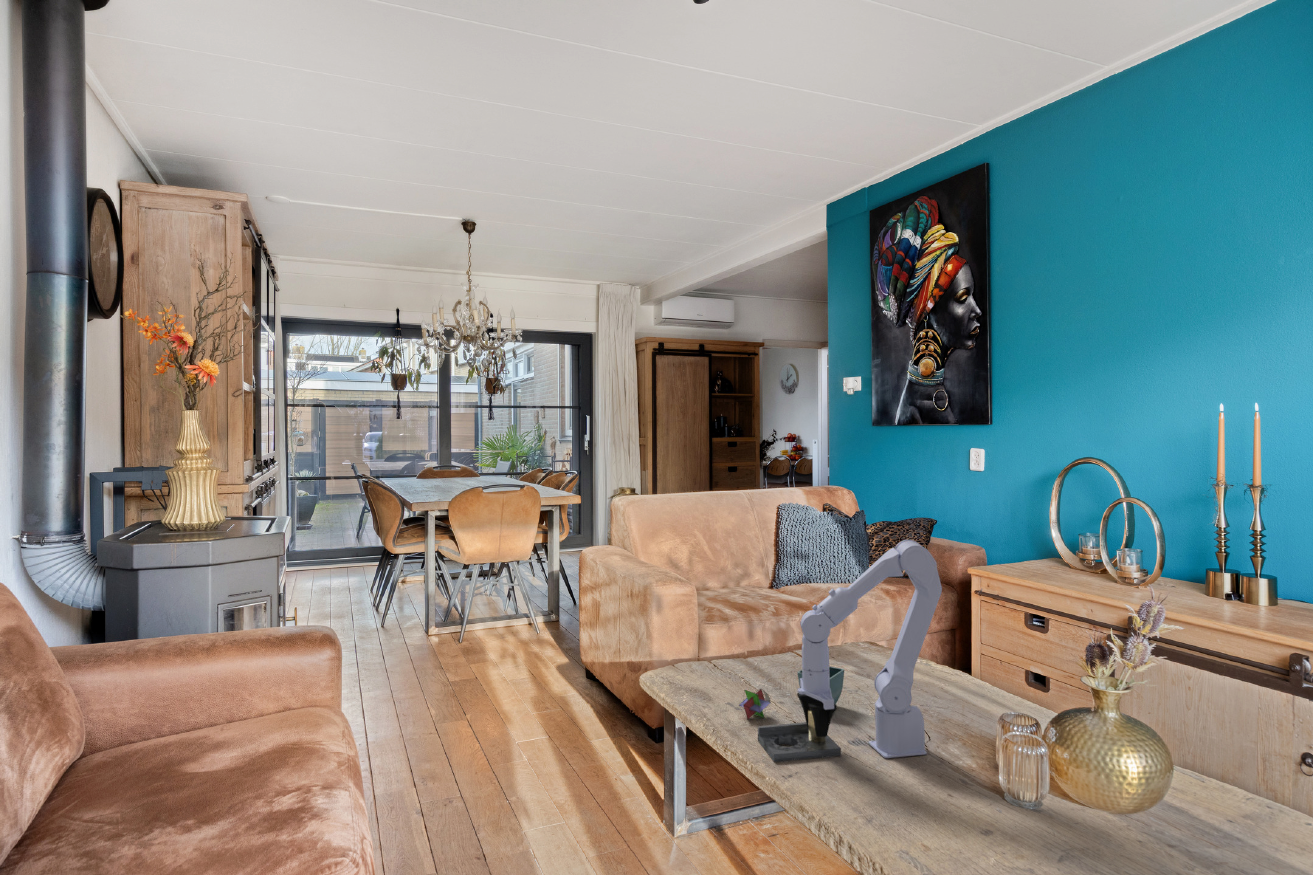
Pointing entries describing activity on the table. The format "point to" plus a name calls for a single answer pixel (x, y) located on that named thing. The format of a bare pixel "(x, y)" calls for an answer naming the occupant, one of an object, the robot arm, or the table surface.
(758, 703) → the geometric puzzle
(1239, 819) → the table surface
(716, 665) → the table surface
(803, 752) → the jig
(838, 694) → the flower pot
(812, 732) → the brass cylinder plug
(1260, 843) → the table surface
